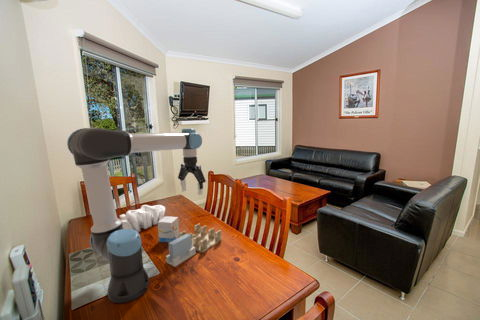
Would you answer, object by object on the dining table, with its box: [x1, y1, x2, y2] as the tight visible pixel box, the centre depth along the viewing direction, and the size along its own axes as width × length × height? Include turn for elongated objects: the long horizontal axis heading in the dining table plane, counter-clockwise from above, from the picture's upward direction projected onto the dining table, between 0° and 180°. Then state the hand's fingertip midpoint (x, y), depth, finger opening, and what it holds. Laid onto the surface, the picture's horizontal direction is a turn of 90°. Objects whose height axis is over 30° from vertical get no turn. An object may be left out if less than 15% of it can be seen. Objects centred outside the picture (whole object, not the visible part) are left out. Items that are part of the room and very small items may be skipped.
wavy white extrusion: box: [119, 204, 166, 233], centre depth 148 cm, size 35×16×11 cm, turn 139°
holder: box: [165, 247, 197, 268], centre depth 111 cm, size 13×6×3 cm, turn 144°
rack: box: [178, 222, 222, 254], centre depth 125 cm, size 15×17×6 cm
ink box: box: [157, 215, 180, 243], centre depth 130 cm, size 9×8×12 cm
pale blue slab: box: [168, 233, 192, 262], centre depth 110 cm, size 11×3×9 cm, turn 144°
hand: (191, 192), depth 132 cm, fingers open, 13 cm apart
